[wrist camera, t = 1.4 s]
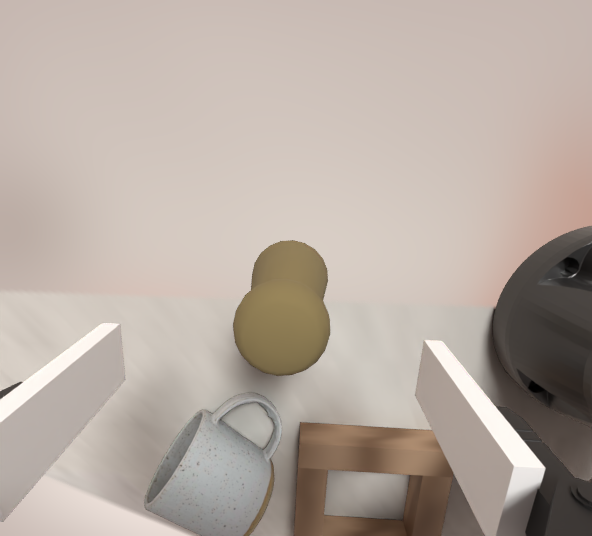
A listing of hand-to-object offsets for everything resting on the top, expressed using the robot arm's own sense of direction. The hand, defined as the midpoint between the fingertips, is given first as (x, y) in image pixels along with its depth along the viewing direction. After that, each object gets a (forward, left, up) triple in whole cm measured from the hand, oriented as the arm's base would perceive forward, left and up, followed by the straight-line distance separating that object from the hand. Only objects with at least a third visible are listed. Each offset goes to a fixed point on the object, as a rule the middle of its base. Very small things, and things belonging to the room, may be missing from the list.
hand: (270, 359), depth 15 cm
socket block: (-8, +20, -13) cm, 25 cm away
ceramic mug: (+5, +15, -13) cm, 21 cm away
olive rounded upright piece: (0, 0, -13) cm, 13 cm away
